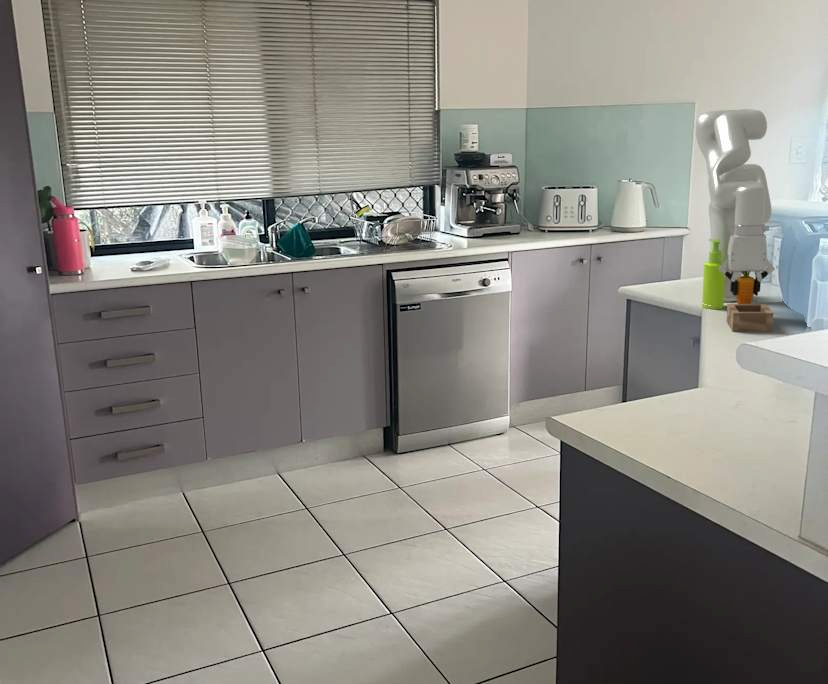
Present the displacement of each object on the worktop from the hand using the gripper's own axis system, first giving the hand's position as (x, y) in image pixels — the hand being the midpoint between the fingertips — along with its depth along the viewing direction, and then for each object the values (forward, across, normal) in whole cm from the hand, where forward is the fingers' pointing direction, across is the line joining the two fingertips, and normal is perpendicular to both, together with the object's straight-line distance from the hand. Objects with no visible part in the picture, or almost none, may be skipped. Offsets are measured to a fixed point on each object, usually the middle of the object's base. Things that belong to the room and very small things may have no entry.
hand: (744, 293), depth 236 cm
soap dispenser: (+7, +7, -11) cm, 15 cm away
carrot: (+7, 0, 0) cm, 7 cm away
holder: (+6, 0, +11) cm, 13 cm away
